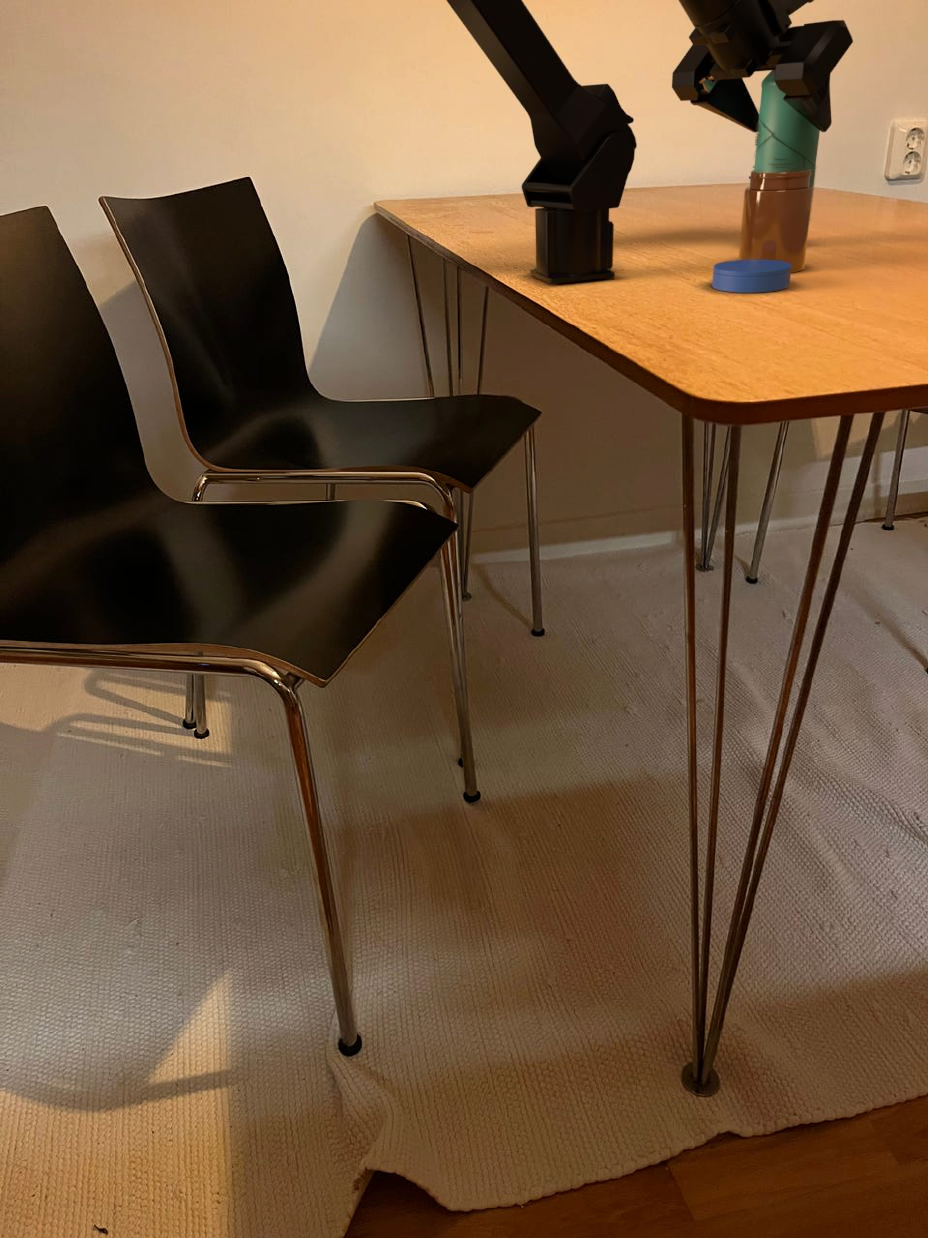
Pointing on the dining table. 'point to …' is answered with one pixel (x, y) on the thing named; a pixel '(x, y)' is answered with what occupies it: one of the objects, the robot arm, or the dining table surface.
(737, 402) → the dining table surface
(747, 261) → the jar lid
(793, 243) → the jar
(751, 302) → the dining table surface
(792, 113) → the beverage bottle
